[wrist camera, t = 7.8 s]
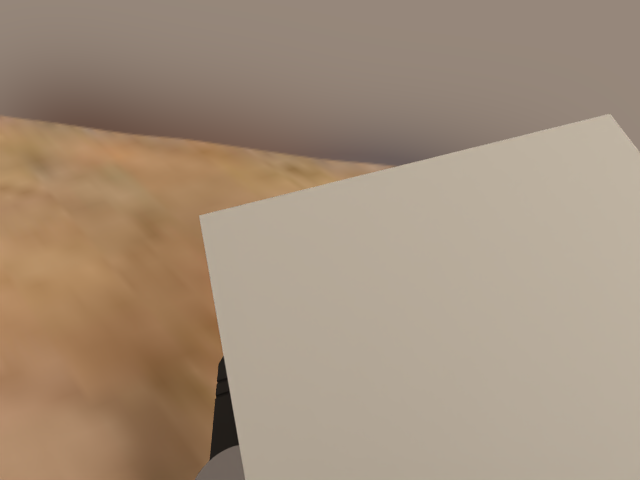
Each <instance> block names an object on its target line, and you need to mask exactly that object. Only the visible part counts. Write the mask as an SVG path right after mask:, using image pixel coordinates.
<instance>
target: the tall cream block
mask: <svg viewBox="0 0 640 480" xmlns="http://www.w3.org/2000/svg"><path fill="white" fill-rule="evenodd" d="M199 217H200V223H201V229H202V235H203V240H204V246H205V252H206V257H207V263H208V269H209V275H210V280H211V286H212V292H213V298H214V303H215V309H216V315H217V321H218V326H219V332H220V338H221V343H222V349H223V355H224V361H225V366H226V372H227V378H228V384H229V389H230V395H231V401H232V407H233V412H234V418H235V424H236V429H237V435H238V441H239V447H240V452H241V458H242V464H243V470H244V475H245V480H640V152H639V151H638V149H637V148H636V147H635V145H634V144H633V143H632V142H631V140H630V139H629V138H628V136H627V135H626V134H625V133H624V131H623V130H622V129H621V127H620V126H619V125H618V124H617V122H616V121H615V120H614V118H613V117H612V116H611V115H610V114H607V115H603V116H599V117H595V118H591V119H587V120H583V121H579V122H576V123H571V124H567V125H563V126H559V127H555V128H551V129H547V130H543V131H539V132H535V133H531V134H527V135H523V136H519V137H515V138H510V139H507V140H502V141H498V142H494V143H490V144H486V145H482V146H478V147H474V148H470V149H466V150H462V151H458V152H454V153H450V154H446V155H442V156H438V157H434V158H430V159H426V160H422V161H418V162H414V163H409V164H405V165H401V166H397V167H393V168H389V169H385V170H381V171H377V172H373V173H369V174H365V175H361V176H357V177H353V178H349V179H345V180H341V181H337V182H333V183H329V184H325V185H321V186H317V187H313V188H309V189H304V190H300V191H296V192H292V193H288V194H284V195H280V196H276V197H272V198H268V199H264V200H260V201H256V202H252V203H248V204H244V205H240V206H236V207H232V208H228V209H224V210H220V211H216V212H212V213H208V214H204V215H200V216H199Z"/></svg>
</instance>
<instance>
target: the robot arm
mask: <svg viewBox="0 0 640 480" xmlns="http://www.w3.org/2000/svg"><path fill="white" fill-rule="evenodd" d="M217 382H218V384H217V388H216V399H215V409H214V420H213V431H212V442H211V453H210V460H209V462H208V463H207V464H206V465H205V466H204V467H203V468H202V470H201V471H200V472H199V474H198V475H197V477H196V479H195V480H245V475H244V470H243V464H242V458H241V452H240V447H239V441H238V435H237V429H236V424H235V418H234V412H233V407H232V401H231V395H230V389H229V384H228V378H227V372H226V366H225V361H224V356H223V358H222V359H221V361H220V363H219V366H218V377H217Z"/></svg>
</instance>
